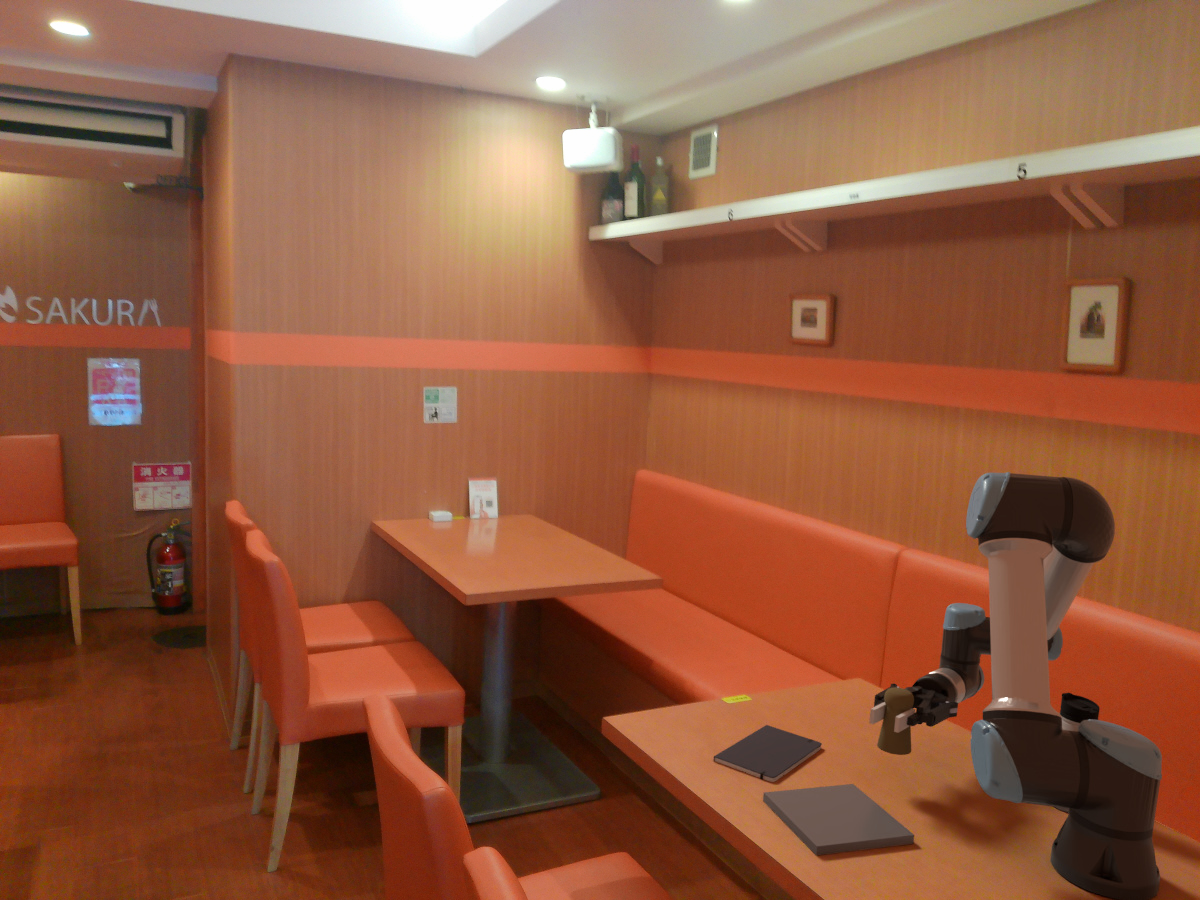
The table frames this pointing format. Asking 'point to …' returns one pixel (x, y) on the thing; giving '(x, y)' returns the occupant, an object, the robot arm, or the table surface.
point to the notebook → (768, 753)
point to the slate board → (837, 819)
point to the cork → (896, 705)
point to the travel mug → (1076, 715)
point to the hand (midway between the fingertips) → (884, 720)
